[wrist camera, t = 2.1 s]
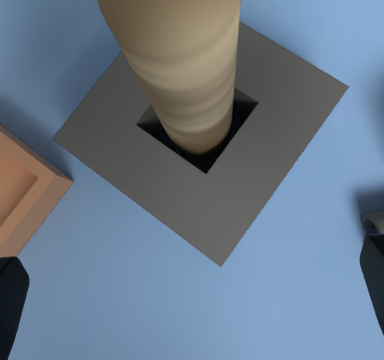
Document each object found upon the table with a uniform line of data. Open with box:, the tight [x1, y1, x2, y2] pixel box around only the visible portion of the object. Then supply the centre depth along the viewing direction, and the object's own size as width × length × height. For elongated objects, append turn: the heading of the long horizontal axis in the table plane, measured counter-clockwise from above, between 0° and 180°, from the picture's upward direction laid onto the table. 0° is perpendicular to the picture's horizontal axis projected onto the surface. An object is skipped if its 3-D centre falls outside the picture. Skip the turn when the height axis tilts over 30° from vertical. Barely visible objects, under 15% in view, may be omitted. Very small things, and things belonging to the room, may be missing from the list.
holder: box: [52, 21, 349, 267], centre depth 21 cm, size 12×12×4 cm
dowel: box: [98, 0, 241, 164], centre depth 16 cm, size 4×4×14 cm
